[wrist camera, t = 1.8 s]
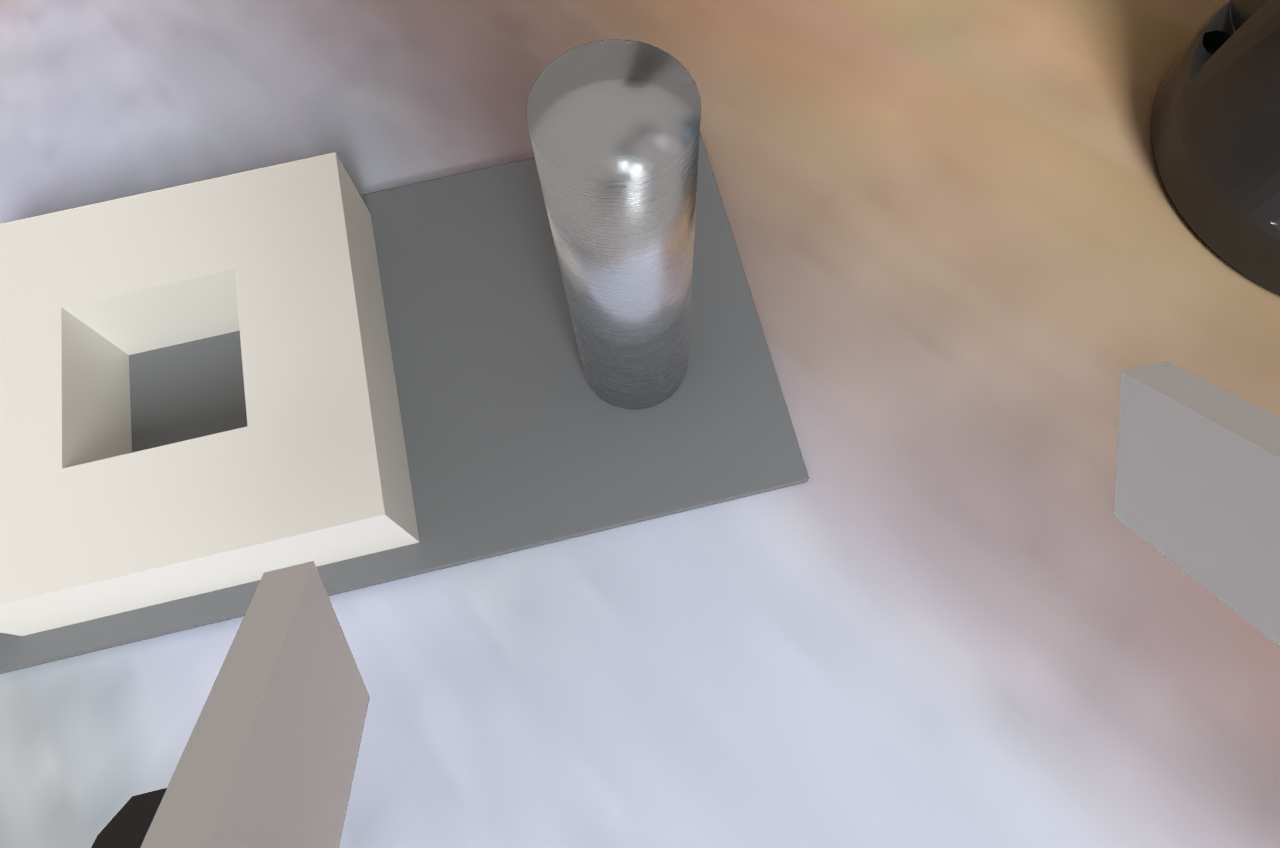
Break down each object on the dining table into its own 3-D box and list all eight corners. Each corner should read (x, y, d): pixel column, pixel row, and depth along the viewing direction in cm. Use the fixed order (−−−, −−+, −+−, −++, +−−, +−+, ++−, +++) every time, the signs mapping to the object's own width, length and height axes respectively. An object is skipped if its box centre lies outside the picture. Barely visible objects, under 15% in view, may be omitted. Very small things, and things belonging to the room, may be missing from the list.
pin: (673, 302, 34) (677, 24, 21) (699, 396, 33) (720, 160, 19) (572, 325, 34) (511, 59, 21) (594, 420, 32) (544, 199, 19)
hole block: (370, 213, 36) (335, 151, 32) (419, 542, 31) (384, 514, 27) (26, 289, 35) (-51, 234, 31) (21, 636, 30) (-70, 621, 27)
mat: (696, 130, 37) (697, 122, 37) (806, 482, 32) (809, 478, 31) (-15, 284, 36) (-24, 278, 35) (-27, 680, 30) (-37, 679, 30)
